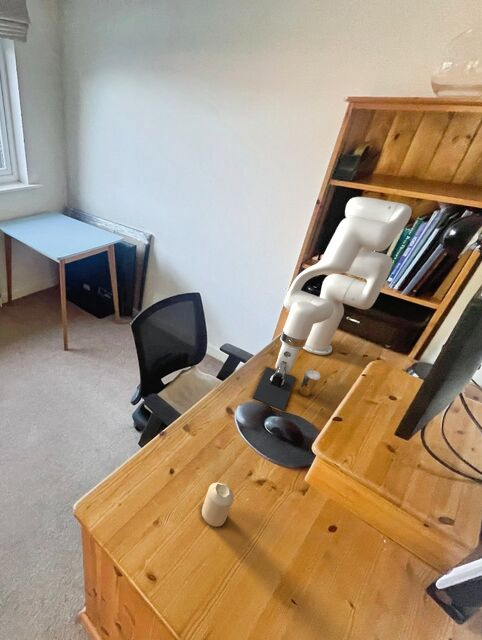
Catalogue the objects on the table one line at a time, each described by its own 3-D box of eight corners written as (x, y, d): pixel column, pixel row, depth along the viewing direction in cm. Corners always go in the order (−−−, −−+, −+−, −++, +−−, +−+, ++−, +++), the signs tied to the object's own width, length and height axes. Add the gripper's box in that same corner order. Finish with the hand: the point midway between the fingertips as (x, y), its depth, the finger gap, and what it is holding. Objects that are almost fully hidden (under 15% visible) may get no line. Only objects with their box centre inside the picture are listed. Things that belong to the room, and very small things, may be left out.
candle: (212, 531, 78) (221, 506, 73) (196, 509, 82) (204, 484, 77) (230, 520, 81) (240, 495, 75) (214, 499, 85) (223, 474, 79)
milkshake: (307, 387, 121) (318, 364, 116) (314, 397, 117) (324, 375, 112) (294, 385, 122) (304, 363, 116) (300, 396, 117) (310, 373, 112)
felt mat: (266, 367, 130) (266, 366, 130) (294, 378, 125) (295, 377, 125) (252, 397, 116) (252, 397, 116) (283, 411, 111) (284, 410, 111)
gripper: (301, 355, 105) (284, 396, 114) (310, 330, 117) (294, 369, 126) (275, 346, 108) (261, 387, 117) (286, 323, 120) (272, 361, 130)
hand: (278, 377), depth 122 cm, fingers open, 9 cm apart
